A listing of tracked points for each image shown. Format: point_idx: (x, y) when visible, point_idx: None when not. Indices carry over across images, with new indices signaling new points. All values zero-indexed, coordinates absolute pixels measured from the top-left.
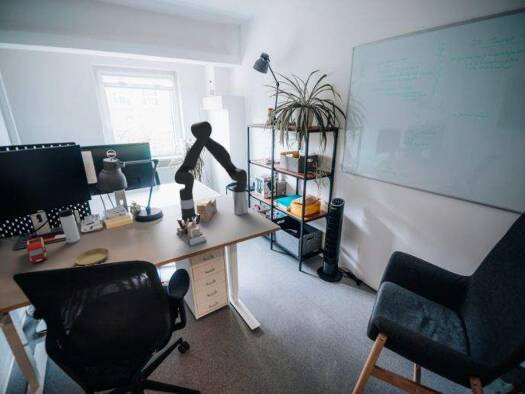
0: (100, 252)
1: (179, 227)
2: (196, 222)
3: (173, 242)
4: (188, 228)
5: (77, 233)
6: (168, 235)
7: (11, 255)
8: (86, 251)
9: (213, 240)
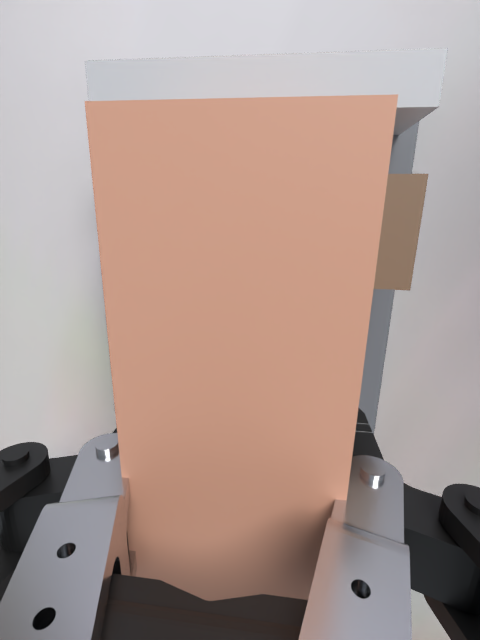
0: None
1: (137, 98)
2: (441, 581)
3: (32, 336)
4: None
5: None
6: (8, 78)
7: None
8: None
9: (415, 593)
